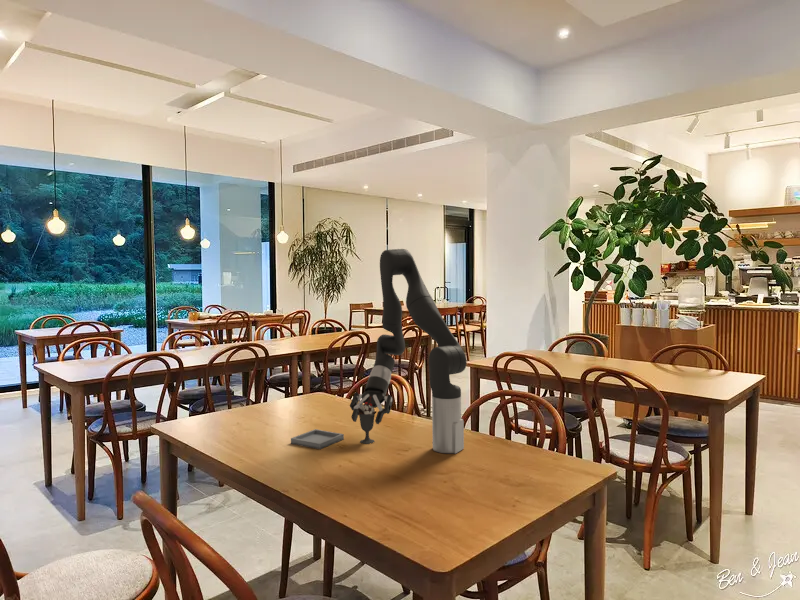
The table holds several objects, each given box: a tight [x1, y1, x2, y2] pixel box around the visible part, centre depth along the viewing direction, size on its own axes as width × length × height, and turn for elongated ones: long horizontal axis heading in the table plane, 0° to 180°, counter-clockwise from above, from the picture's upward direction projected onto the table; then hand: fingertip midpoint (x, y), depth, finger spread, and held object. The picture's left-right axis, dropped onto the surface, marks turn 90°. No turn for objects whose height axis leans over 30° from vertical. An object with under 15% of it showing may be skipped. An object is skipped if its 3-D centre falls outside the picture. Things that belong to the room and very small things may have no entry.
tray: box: [290, 428, 345, 450], centre depth 185 cm, size 13×13×2 cm
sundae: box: [357, 397, 377, 445], centre depth 183 cm, size 7×7×15 cm
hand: (365, 421), depth 182 cm, fingers open, 8 cm apart
